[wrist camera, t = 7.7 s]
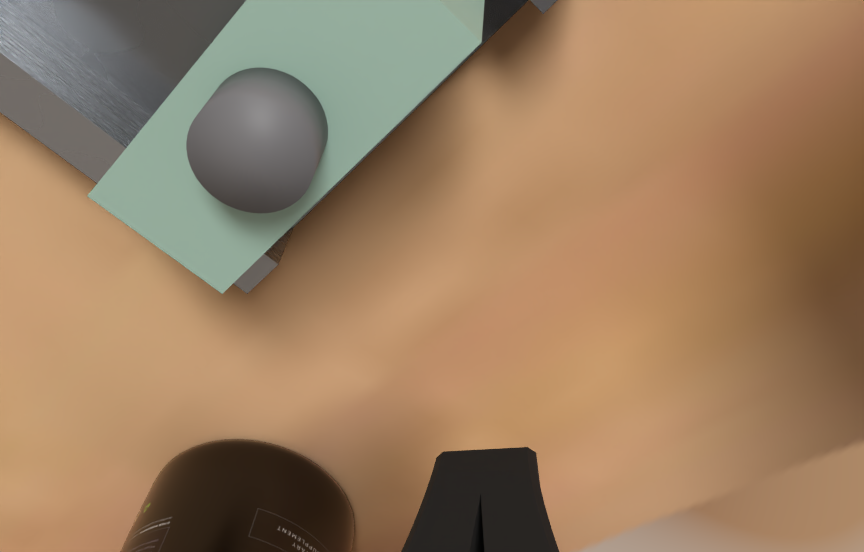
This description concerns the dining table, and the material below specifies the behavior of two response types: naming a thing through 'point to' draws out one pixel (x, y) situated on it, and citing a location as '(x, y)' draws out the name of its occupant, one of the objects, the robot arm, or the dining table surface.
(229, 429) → the dining table surface
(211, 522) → the supplement bottle
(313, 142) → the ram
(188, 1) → the press
